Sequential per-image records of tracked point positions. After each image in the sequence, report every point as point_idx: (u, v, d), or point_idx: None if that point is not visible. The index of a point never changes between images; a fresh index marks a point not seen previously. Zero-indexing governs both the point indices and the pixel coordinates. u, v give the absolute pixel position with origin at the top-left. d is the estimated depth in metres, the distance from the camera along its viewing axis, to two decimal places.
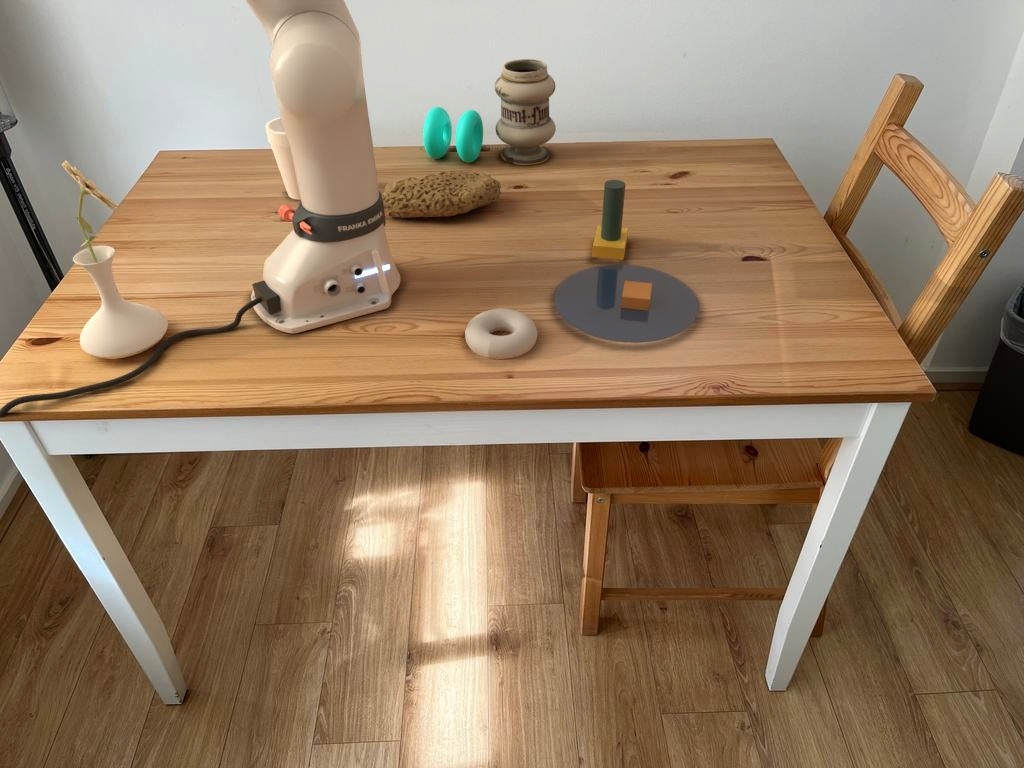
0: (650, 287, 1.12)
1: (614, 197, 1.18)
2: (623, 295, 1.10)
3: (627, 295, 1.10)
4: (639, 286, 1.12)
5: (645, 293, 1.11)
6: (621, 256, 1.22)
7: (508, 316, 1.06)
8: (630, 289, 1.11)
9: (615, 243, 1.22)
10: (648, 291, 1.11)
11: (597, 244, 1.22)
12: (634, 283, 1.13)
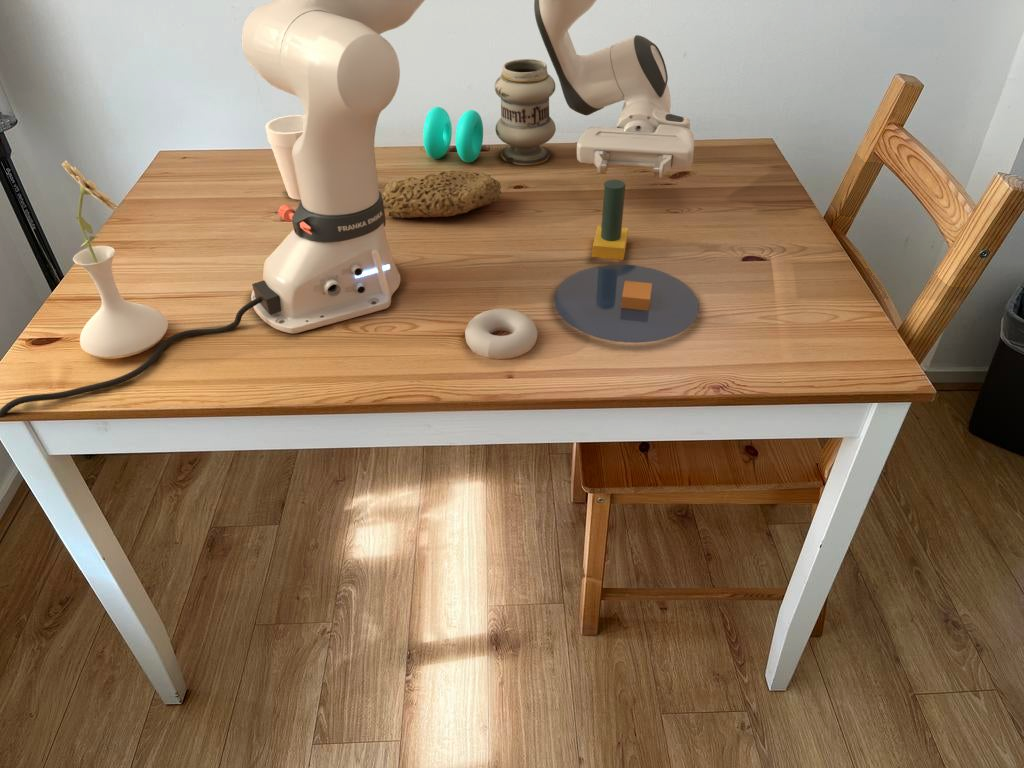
0: (650, 287, 1.12)
1: (614, 197, 1.18)
2: (623, 295, 1.10)
3: (627, 295, 1.10)
4: (639, 286, 1.12)
5: (645, 293, 1.11)
6: (621, 256, 1.22)
7: (508, 316, 1.06)
8: (630, 289, 1.11)
9: (615, 243, 1.22)
10: (648, 291, 1.11)
11: (597, 244, 1.22)
12: (634, 283, 1.13)
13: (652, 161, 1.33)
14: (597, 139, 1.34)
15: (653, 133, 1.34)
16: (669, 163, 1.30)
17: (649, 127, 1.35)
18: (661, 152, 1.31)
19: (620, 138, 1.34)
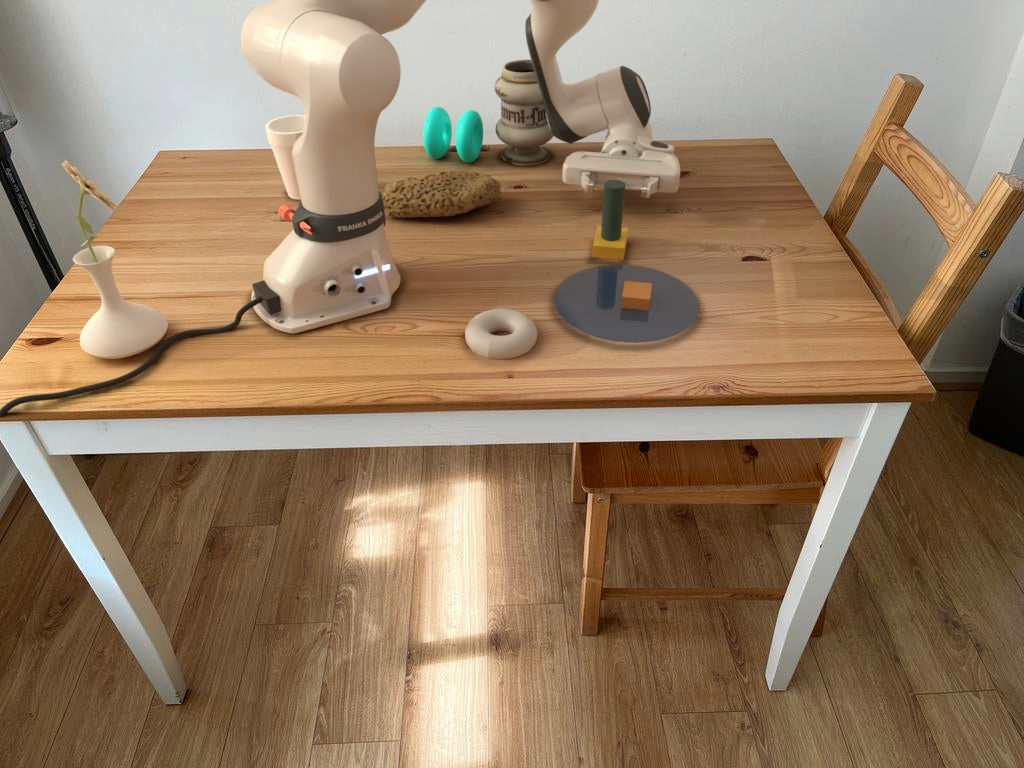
0: (650, 287, 1.12)
1: (614, 197, 1.18)
2: (623, 295, 1.10)
3: (627, 295, 1.10)
4: (639, 286, 1.12)
5: (645, 293, 1.11)
6: (621, 256, 1.22)
7: (508, 316, 1.06)
8: (630, 289, 1.11)
9: (615, 243, 1.22)
10: (648, 291, 1.11)
11: (597, 244, 1.22)
12: (634, 283, 1.13)
13: (638, 184, 1.32)
14: (584, 161, 1.34)
15: (638, 158, 1.35)
16: (656, 185, 1.29)
17: (634, 152, 1.35)
18: (648, 174, 1.30)
19: (606, 161, 1.34)
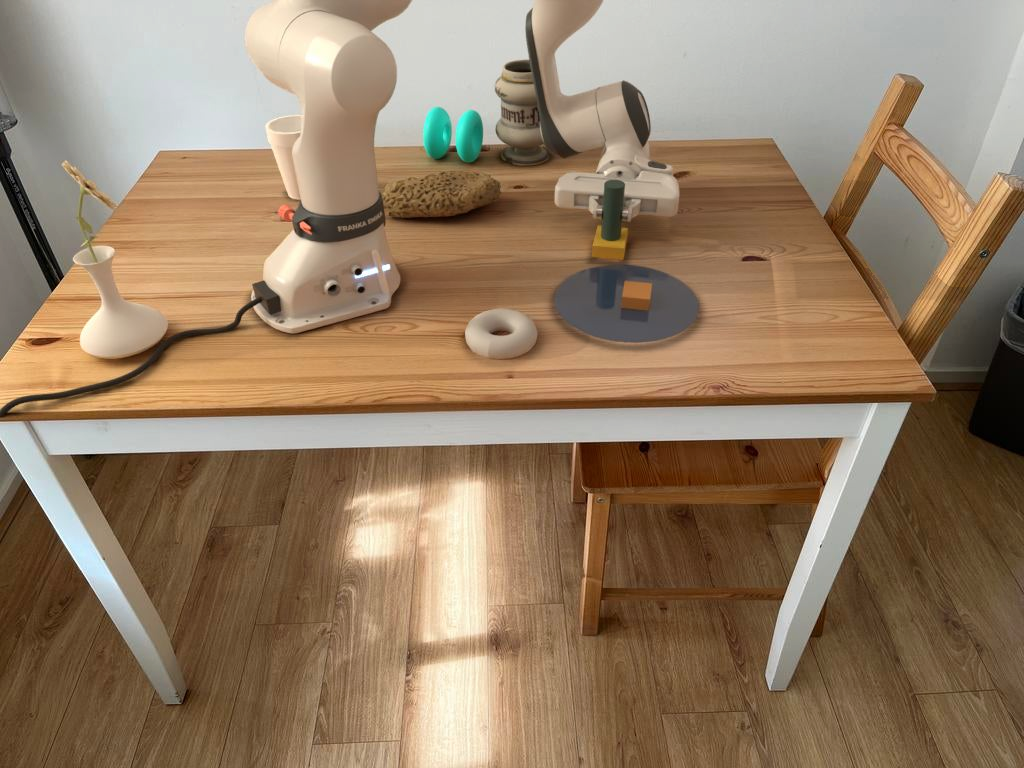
0: (650, 287, 1.12)
1: (613, 197, 1.18)
2: (623, 295, 1.10)
3: (627, 295, 1.10)
4: (639, 286, 1.12)
5: (645, 293, 1.11)
6: (621, 256, 1.22)
7: (508, 316, 1.06)
8: (630, 289, 1.11)
9: (615, 242, 1.22)
10: (648, 291, 1.11)
11: (596, 244, 1.22)
12: (634, 283, 1.13)
13: None
14: (577, 183, 1.26)
15: (635, 179, 1.27)
16: (638, 207, 1.22)
17: (631, 173, 1.27)
18: (645, 197, 1.23)
19: (601, 183, 1.26)
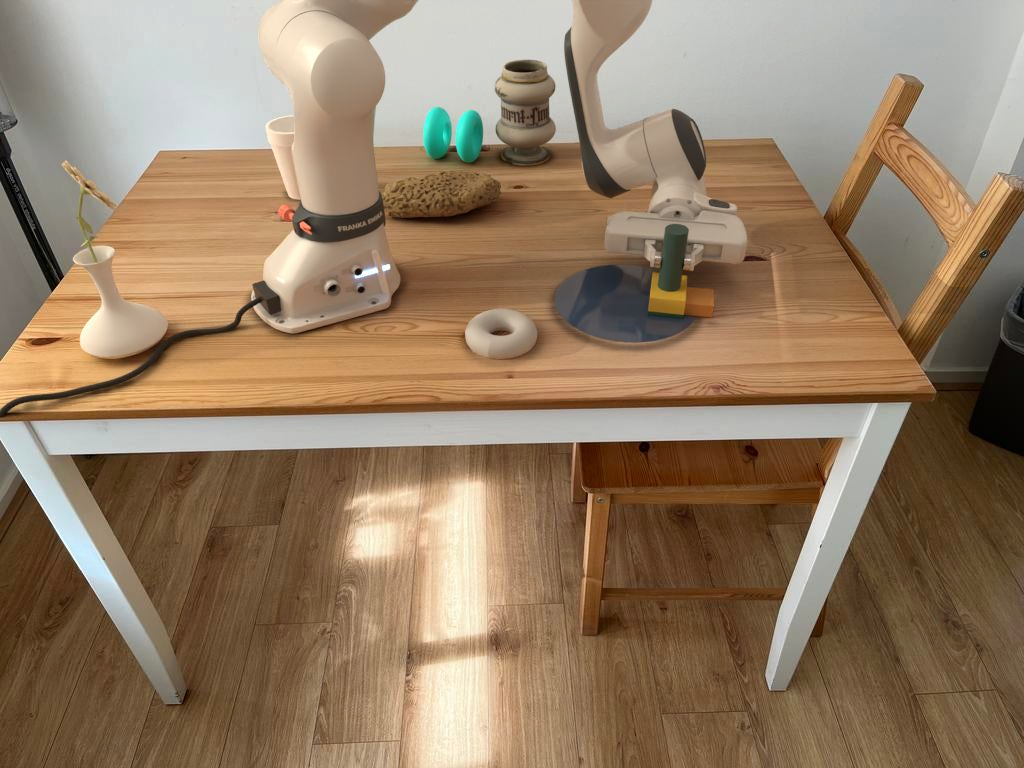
0: (712, 293, 1.10)
1: (676, 245, 1.04)
2: (686, 302, 1.09)
3: (690, 301, 1.09)
4: (701, 292, 1.10)
5: (708, 299, 1.09)
6: (682, 309, 1.08)
7: (508, 316, 1.06)
8: (692, 295, 1.10)
9: (675, 294, 1.08)
10: (711, 298, 1.09)
11: (654, 296, 1.08)
12: (696, 289, 1.11)
13: None
14: (630, 225, 1.12)
15: (695, 220, 1.13)
16: (701, 254, 1.08)
17: (690, 213, 1.13)
18: (709, 242, 1.09)
19: (657, 225, 1.12)
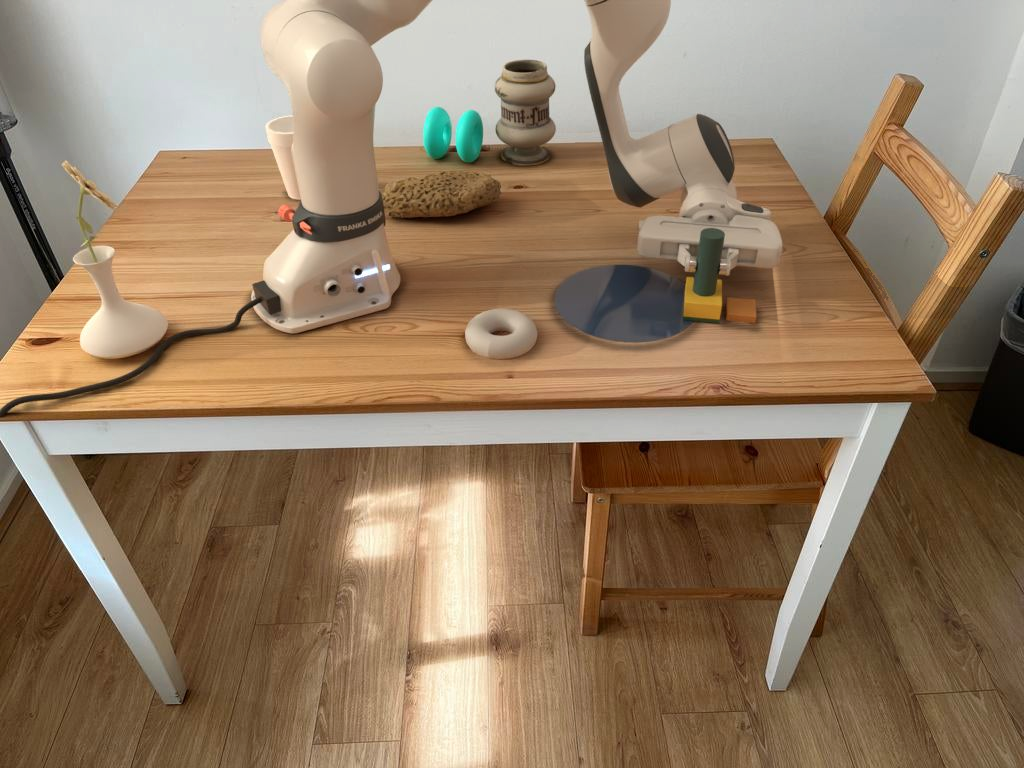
0: (754, 304, 1.10)
1: (712, 249, 1.03)
2: (728, 312, 1.08)
3: (732, 312, 1.08)
4: (743, 303, 1.10)
5: (750, 310, 1.09)
6: (718, 314, 1.07)
7: (508, 316, 1.06)
8: (734, 306, 1.09)
9: (711, 298, 1.07)
10: (753, 308, 1.09)
11: (690, 301, 1.07)
12: (737, 300, 1.11)
13: None
14: (663, 230, 1.11)
15: (728, 225, 1.12)
16: (736, 258, 1.07)
17: (723, 217, 1.12)
18: (744, 247, 1.08)
19: (690, 229, 1.11)
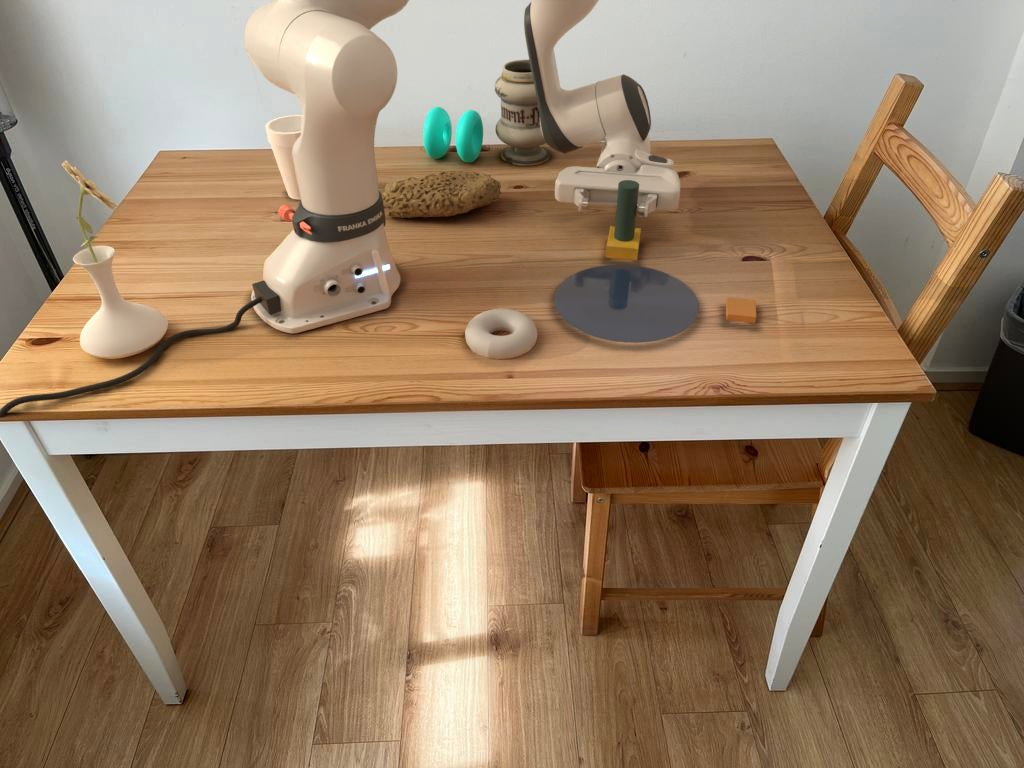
0: (754, 304, 1.10)
1: (628, 198, 1.18)
2: (728, 312, 1.08)
3: (732, 312, 1.08)
4: (743, 303, 1.10)
5: (750, 310, 1.09)
6: (635, 256, 1.22)
7: (508, 316, 1.06)
8: (734, 306, 1.09)
9: (629, 243, 1.22)
10: (753, 308, 1.09)
11: (610, 245, 1.22)
12: (737, 300, 1.11)
13: None
14: (577, 177, 1.25)
15: (636, 173, 1.26)
16: (654, 203, 1.21)
17: (631, 167, 1.27)
18: (646, 191, 1.22)
19: (601, 177, 1.25)
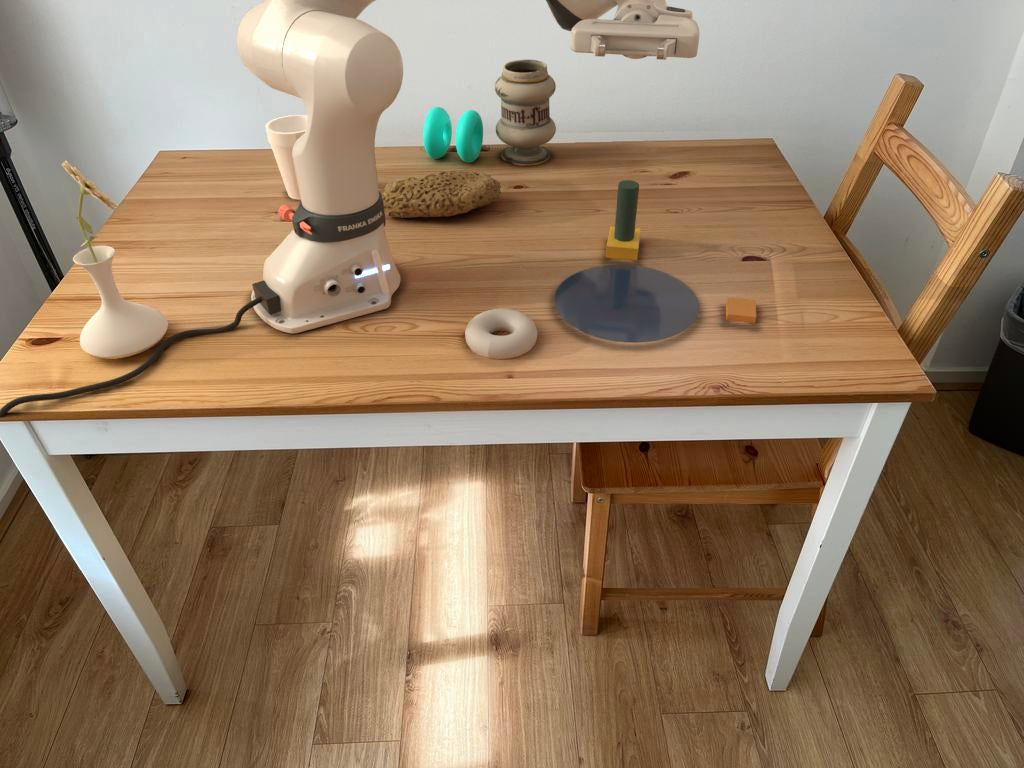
0: (754, 304, 1.10)
1: (628, 198, 1.18)
2: (728, 312, 1.08)
3: (732, 312, 1.08)
4: (743, 303, 1.10)
5: (750, 310, 1.09)
6: (635, 256, 1.22)
7: (508, 316, 1.06)
8: (734, 306, 1.09)
9: (629, 243, 1.22)
10: (753, 308, 1.09)
11: (610, 245, 1.22)
12: (737, 300, 1.11)
13: (653, 49, 1.22)
14: (594, 26, 1.23)
15: (653, 23, 1.24)
16: (673, 46, 1.19)
17: (649, 17, 1.24)
18: (664, 36, 1.19)
19: (618, 25, 1.23)
